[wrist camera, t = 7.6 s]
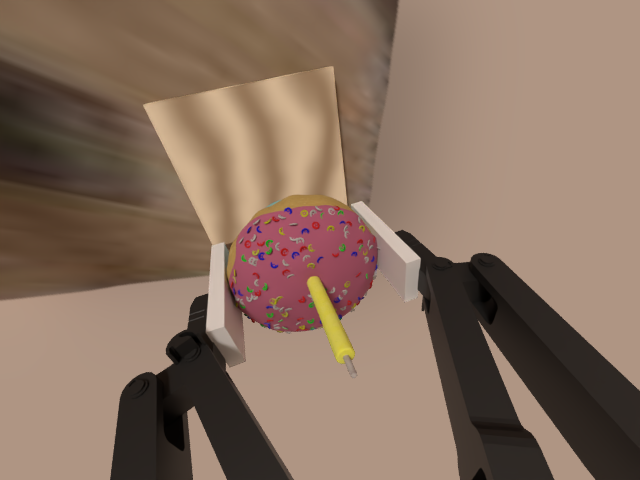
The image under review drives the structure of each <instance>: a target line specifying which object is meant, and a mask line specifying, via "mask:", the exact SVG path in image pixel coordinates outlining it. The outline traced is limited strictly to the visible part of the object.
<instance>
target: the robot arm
mask: <svg viewBox="0 0 640 480" xmlns="http://www.w3.org/2000/svg"><path fill="white" fill-rule="evenodd" d="M351 208H352V210H353V211H354V212H356V213H357V214H358V215H359V216H360V218H361V219H362V220H363V221H364V222H365V224H366V225H367V227H368V228H369V230H370V231H371V233H372V234H373V235H374V236H375V237H376V240H377V247H378V248H380V250H379V249H378V258H377V264H378V269H379V270H380V271H381V273H382V274H383V275H384V276H385V278H386V279H387V280H388V282H389V283H390V284H391V286H392V287H393V288H394V289H395V291H396V292H397V293H398V294H399V296H400V297H401V299H402V300H403V301H404V302H407V301H409V300H412V299H415V298H417V297H418V290H419V291H420V293H421V294H422V295H423V300H422V311H424V310H425V314H426V318H427V323H428V327H429V331H430V335H431V340H432V344H433V349H434V353H435V357H436V362H437V366H438V370H439V375H440V379H441V383H442V388H443V392H444V396H445V401H446V405H447V409H448V414H449V418H450V422H451V427H452V431H453V435H454V440H455V444H456V448H457V455H458V469H459V476H460V480H554V478H553V476H552V474H551V471H550V469H549V467H548V465H547V462H546V460H545V457H544V455H543V453H542V451H541V448H540V447H539V445H538V443H537V441H536V439H535V438H534V436H533V435H532V434H531V433H530V432H529V431H527V430H526V429H524V428H523V426H522V425H521V423H520V421H519V419H518V417H517V414H516V412H515V409H514V407H513V404H512V402H511V400H510V397H509V395H508V392H507V390H506V387H505V385H504V382H503V380H502V378H501V375H500V373H499V370H498V368H497V366H496V363H495V361H494V358H493V356H492V353H491V351H490V349H489V346H488V344H487V341H486V339H485V336H484V334H483V332H482V329H481V327H480V324H479V322H480V323H481V325H482V326H483V327H484V329H485V330H486V332H487V333H488V334H489V336H490V337H491V338H492V340H493V341H494V342H495V344H496V345H497V347H498V348H499V349H500V351H501V352H502V353H503V355H504V356H505V358H506V359H507V360H508V361H509V363H510V364H511V366H512V367H513V369H514V370H515V371H516V372H517V374H518V375H519V377H520V378H521V379H522V381H523V382H524V383H525V385H526V386H527V388H528V389H529V390H530V392H531V393H532V395H533V396H534V397H535V399H536V400H537V401H538V403H539V404H540V405H541V407H542V408H543V409H544V411H545V412H546V414H547V415H548V416H549V418H550V419H551V420H552V422H553V423H554V425H555V426H556V427H557V429H558V430H559V431H560V433H561V434H562V436H563V437H564V438H565V440H566V441H567V442H568V443H569V445H570V447H571V448H572V449H573V451H574V452H575V453H576V455H577V456H578V457H579V459H580V460H581V462H582V463H583V464H584V466H585V467H586V468H587V470H588V471H589V472H590V473H591V475H592V476H593V477H594V478H595V480H640V391H639V390H638V389H637V388H636V387H635V386H634V385H633V384H632V383H631V382H630V381H628V379H626V378H625V377H624V376H623V375H622V374H621V373H620V372H619V371H618V370H617V369H616V368H615V367H614V366H613V365H612V364H611V363H610V362H608V361H607V360H606V359H605V358H604V357H603V356H602V355H601V354H600V353H599V352H598V351H597V350H596V349H595V348H594V347H593V346H592V345H590V344H589V343H588V342H587V341H586V340H585V339H584V338H583V337H582V336H581V335H580V334H579V333H578V332H577V331H576V330H574V328H572V327H571V326H570V325H569V324H568V323H567V322H566V321H565V320H564V319H563V318H562V317H561V316H560V315H559V314H558V313H557V312H556V311H554V310H553V309H552V308H551V307H550V306H549V305H548V304H547V303H546V302H545V301H544V300H543V299H542V298H541V297H540V296H538V295H537V294H536V293H535V292H534V291H533V290H532V289H531V288H530V287H529V286H528V285H527V284H526V283H525V282H524V281H523V280H522V279H520V278H519V277H518V276H517V275H516V274H515V273H514V272H513V271H512V270H511V269H510V268H509V267H508V266H507V265H506V264H505V263H504V262H502V261H501V260H500V259H499V258H498V257H496V256H494V255H491V254H487V253H478V254H475V255H473V256H472V257H471V261H470V262H464V263H453V262H452V261H450V260H449V259H446V258H442V257H436V256H435V255H434V254H433V253H432V252H431V251H430V250H428V249H427V248H426V247H425V246H424V245H423V244H422V243H420V242H419V241H418V240H417V239H416V238H415V237H414V236H413V235H411V234H410V233H408V232H406V231H403V230H401V231H398V232H395V233H394V232H393V231H392V230H391V229H390V228H389V227H388V226H387V225H386V224H385V223H384V222H383V221H382V220H381V219H379V217H377V216H376V215H375V214H374V213H373V212H372V211H371V210H370V209H369V208H368V207H367V206H366V205H365V204H364V203H363V202H362V201H361V202H357V203H354V204H351ZM228 257H229V251H228V249H227V247H226V245H225V243H224V242H223V243H219V244H216V245H212V250H211V264H210V279H209V293H208V294H205V295H202V296H199V297H196V298H195V299H194V301H193V303H192V305H191V307H190V316H189V322H188V328H187V330H184V331H182V332H180V333H178V334H177V335H176V336H174V337H173V338H172V339H171V341H170V342H169V343H168V345H167V348H166V355H167V356H168V357H169V358H170V359H171V360H172V361H173V362H174V364H172V365H171V366H170V367H168V368H167V369H165V370H163V371H162V372H160V373H159V374H157V375H155V374H153V373H152V372H146V373H143V374H140V375H138V376H137V377H135V378H134V379H132V380H131V381H130V382H129V383H128V384H127V385H126V387H125V388H124V390H123V391H122V394H121V397H120V403H119V411H118V420H117V428H116V436H115V444H114V453H113V461H112V469H111V477H110V480H193V475H192V463H191V451H190V440H189V429H188V419H187V418H188V417H187V411H188V410H190V409H191V408H192V407H194V406H195V409H196V411H197V413H198V415H199V418H200V420H201V422H202V424H203V427H204V429H205V431H206V433H207V436H208V438H209V440H210V442H211V445H212V447H213V449H214V451H215V454H216V456H217V458H218V460H219V463H220V465H221V467H222V469H223V472H224V474H225V476H226V478H227V480H294V479H293V478H292V476H291V474H290V473H289V471H288V469H287V468H286V466H285V465H284V463H283V461H282V460H281V458H280V457H279V455H278V453H277V452H276V450H275V449H274V447H273V445H272V444H271V442H270V441H269V439H268V437H267V436H266V434H265V432H264V431H263V429H262V428H261V426H260V425H259V423H258V421H257V420H256V418H255V416H254V415H253V413H252V412H251V410H250V409H249V407H248V405H247V404H246V402H245V400H244V399H243V397H242V395H241V394H240V392H239V391H238V389H237V387H236V386H235V384H234V383H233V381H232V379H231V378H230V376H229V375H228V373H227V372H226V363H227V364H228V365H229V367H232V366H235V365H237V364H240V363H243V362H245V361H246V359H245V346H244V332H243V320H242V311H241V310H240V309H239V308H238V307H236V300H235V297H234V295H233V293H232V291H231V289H230V286H229V283H228V279H227V265H228ZM477 319H478V320H477ZM478 321H479V322H478Z"/></svg>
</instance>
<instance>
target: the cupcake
mask: <svg viewBox="0 0 640 480" xmlns="http://www.w3.org/2000/svg"><path fill="white" fill-rule="evenodd" d="M378 249H379V250H380V248H378V247H377V240H376V237H375V236H374V235H373V234H372V233H371V231H370V230H369V228H368V227H367V225H366V224H365V222H364V221H363V220H362V219H361V218H360V216H359V215H358V214H357V213H356V212H354V211H353V210H352V209H351V208H350V207H348V206H347V205H345V204H344V203H342V202H340V201H338V200H336V199H334V198H331V197H328V196H325V195H291V196H288V197H286V198H284V199H282V200H279V201H276V202H274V203H272V204H270V205H269V206H267V207H266V208H264V209H262V210H260V211H258V212H257V213H256V214H255V215H254V216H253V217H252V219H251V220H250V221H249V223H248V224H247V225H246V226H245V227H244V228H243V229H242V231H241V232H240V233H239V234H238V236H237V237H236V239H235V240H234V241H233V243H232V245H231V247H230V251H229V257H228V265H227V279H228V283H229V286H230V289H231V291H232V293H233V295H234V297H235V300H236V307H238V308H239V309H240V310H241V311H242V312H243V313H245V314H244V315H245V316H248V317H247V318H249V317H250V318H249V319H251V320H252V322H253V323H254V322H255V321H256V322H258V323H260V325H261V326H262V327H268V328H269V329H273V330H276V331H277V332H284V331H285V332H286V333H289V334H290V333H291V332H292V331H293V332H296V331H297V332H298V331H308V330H314V329H317V328H323V327H324V330H325V332H326V335H327V337H328V340H329V343H330V345H331V348H332V351H333V353H334V356H335V358H336V360H337V362H339V363H342V364H346V366H347V369H348V371H349V374H350V376H351V377H352V378H355V377H356V376H357V373H356V370H355V368H354V366H353V363H352V361H351V360H352V359H353V358H354V356H355V351H354V349H353V347H352V345H351V343H350V341H349V339H348V336H347V334H346V332H345V330H344V328H343V326H342V324H341V322H340V320H341V319H342V317H343V316H344V315H346V314H347V313H348V312H350V311H351V312H352V311H354V310H355V309H354V307H355V306H356V305H358V304H359V303H360V300H361V299H363V298H364V297H363V296H364V295H365V296H366V295H367V291H368V289H370V288H371V287H372V282H373V280H374V279H375V278H376V274H377V272H376V271H375V270H376V269H377V268H378V264H377V258H378ZM365 293H366V294H365Z"/></svg>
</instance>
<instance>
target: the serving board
mask: <svg viewBox="0 0 640 480" xmlns="http://www.w3.org/2000/svg"><path fill="white" fill-rule="evenodd" d="M143 106H144V108H145V110H146V112H147V114H148V116H149V118H150V120H151V122H152V124H153V126H154V128H155V130H156V132H157V134H158V136H159V138H160V140H161V142H162V144H163V146H164V148H165V150H166V152H167V154H168V156H169V158H170V160H171V162H172V164H173V166H174V168H175V170H176V172H177V174H178V176H179V178H180V180H181V182H182V184H183V186H184V188H185V190H186V192H187V194H188V196H189V198H190V200H191V202H192V204H193V206H194V208H195V210H196V212H197V215H198V217H199V219H200V221H201V223H202V225H203V227H204V229H205V231H206V233H207V235H208V237H209V239H210V241H211V243H212V245H216V244H219V243H223V242H224V243H225V244H229V243H232V242H233V241H234V240H235V239H236V237H237V236H238V234H239V233H240V232H241V231H242V229H243V228H244V227H245V226H246V225H247V224H248V223H249V221H250V220H251V219H252V217H253V216H254V215H255V214H256V213H257V212H258V211H260V210H262V209H264V208H266V207H267V206H269V205H270V204H272V203H274V202H276V201H279V200H282V199H284V198H286V197H288V196H291V195H325V196H328V197H331V198H334V199H336V200H338V201H340V202H342V203H344V204H345V205H347V197H346V187H345V177H344V168H343V158H342V148H341V138H340V128H339V119H338V109H337V99H336V89H335V79H334V69H333V67H324V68H319V69H314V70H309V71H304V72H299V73H294V74H289V75H284V76H279V77H274V78H270V79H265V80H260V81H255V82H250V83H245V84H240V85H235V86H230V87H225V88H220V89H215V90H210V91H205V92H200V93H195V94H190V95H185V96H181V97H176V98H171V99H166V100H161V101H156V102H151V103H146V104H144V105H143Z"/></svg>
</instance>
